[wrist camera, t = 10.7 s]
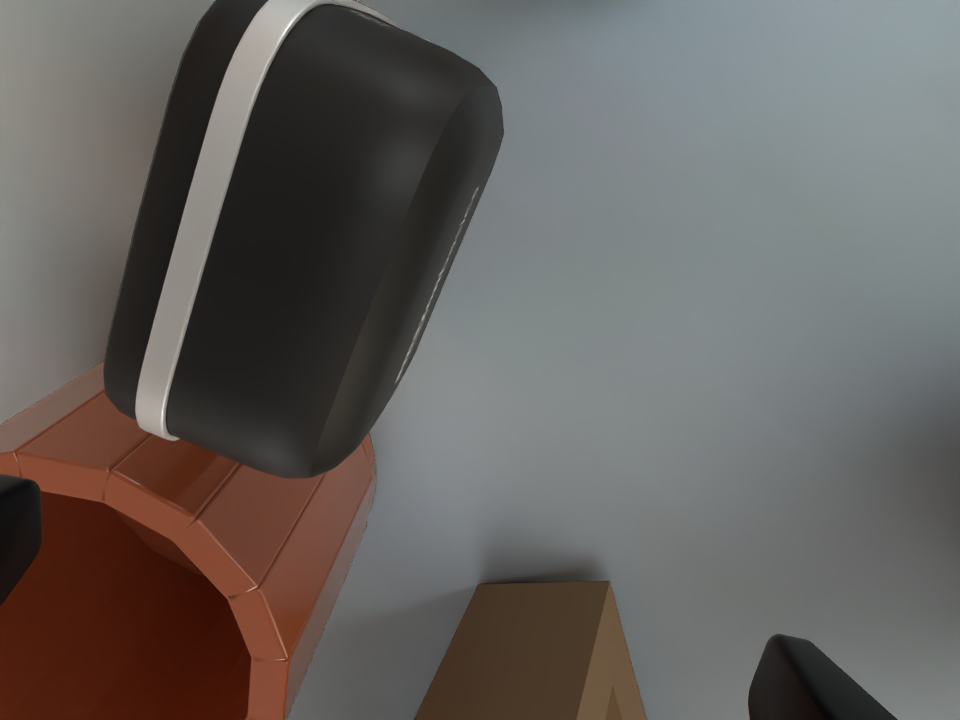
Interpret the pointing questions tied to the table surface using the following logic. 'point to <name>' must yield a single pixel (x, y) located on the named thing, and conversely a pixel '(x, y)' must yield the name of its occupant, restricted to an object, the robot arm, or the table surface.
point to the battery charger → (295, 229)
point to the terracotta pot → (167, 570)
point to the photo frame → (537, 657)
